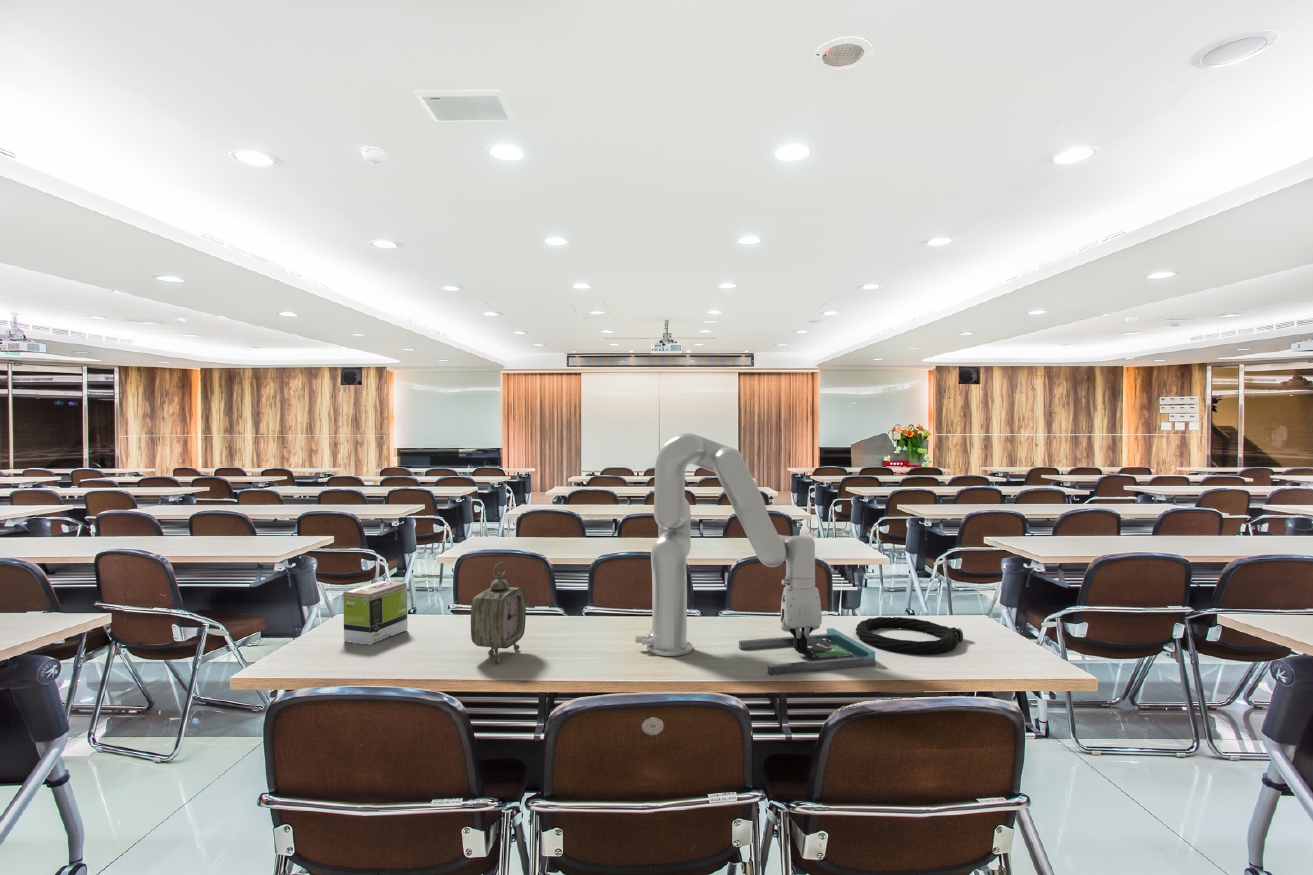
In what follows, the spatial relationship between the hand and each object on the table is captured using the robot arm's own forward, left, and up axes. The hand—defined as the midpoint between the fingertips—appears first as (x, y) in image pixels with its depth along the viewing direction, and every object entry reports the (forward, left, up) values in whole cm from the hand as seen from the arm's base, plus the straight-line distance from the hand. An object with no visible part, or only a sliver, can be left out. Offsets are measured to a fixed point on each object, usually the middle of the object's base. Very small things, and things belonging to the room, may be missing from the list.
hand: (800, 651), depth 164 cm
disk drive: (+7, 0, -2) cm, 7 cm away
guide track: (+1, 0, -1) cm, 2 cm away
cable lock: (+38, +6, -2) cm, 38 cm away
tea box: (-113, +45, -2) cm, 122 cm away
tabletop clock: (-78, +19, -2) cm, 81 cm away
